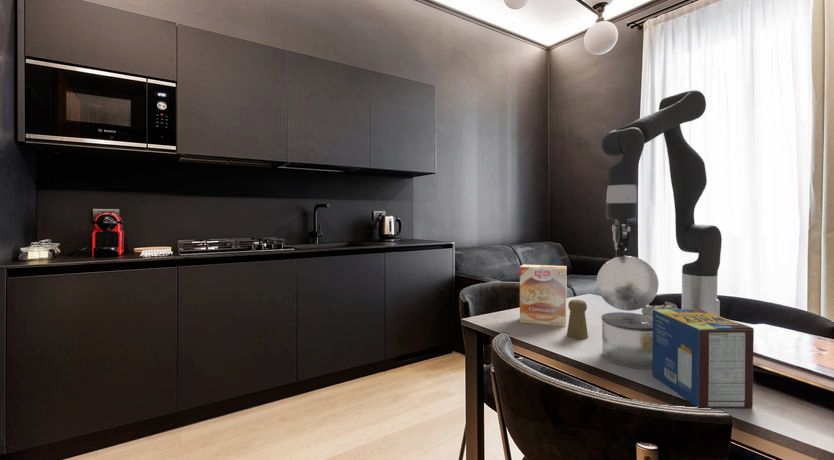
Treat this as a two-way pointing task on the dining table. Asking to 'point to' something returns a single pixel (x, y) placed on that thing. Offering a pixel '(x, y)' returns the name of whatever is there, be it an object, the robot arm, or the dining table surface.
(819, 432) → the dining table surface
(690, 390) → the protein box
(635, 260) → the cooker lid
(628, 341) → the cooker pot
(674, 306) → the food container
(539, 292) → the coffeecake box
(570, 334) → the cork
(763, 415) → the dining table surface
